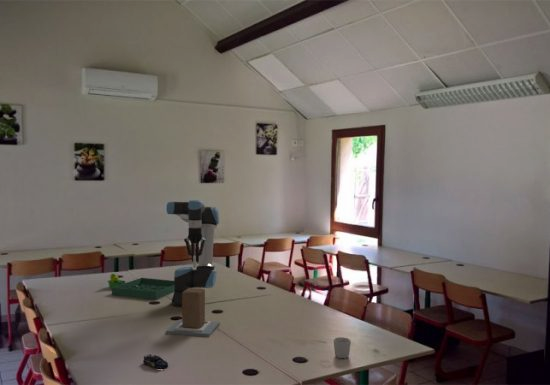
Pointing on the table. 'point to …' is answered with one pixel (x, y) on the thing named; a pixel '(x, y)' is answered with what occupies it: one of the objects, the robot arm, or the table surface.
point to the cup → (342, 347)
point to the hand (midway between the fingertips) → (195, 267)
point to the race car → (155, 362)
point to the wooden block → (193, 308)
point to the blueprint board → (202, 331)
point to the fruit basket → (115, 281)
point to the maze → (145, 288)
